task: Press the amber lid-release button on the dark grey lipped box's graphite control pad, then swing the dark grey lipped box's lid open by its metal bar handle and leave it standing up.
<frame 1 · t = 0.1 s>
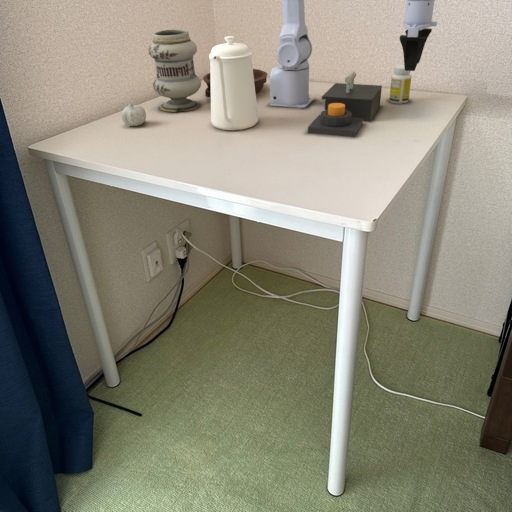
hand: (412, 66, 111), 10 cm above the table, tool pointing down, fingers open, 7 cm apart
dish: (236, 94, 137), on the table
dark grey lipped box: (352, 112, 117), on the table
apothecary jar: (180, 107, 127), on the table
coffeepot: (234, 125, 113), on the table
lid: (353, 83, 114), point 7 cm above the table, hinge at 0.0°
garlic: (135, 125, 116), on the table
supplement bottle: (398, 102, 124), on the table
start button: (336, 110, 105), point 4 cm above the table, slide at 0.1 cm
control pad: (335, 129, 107), on the table
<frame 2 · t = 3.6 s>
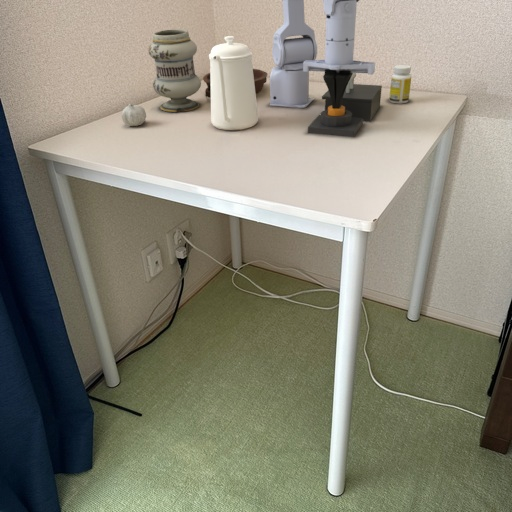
hand: (336, 107, 105), 5 cm above the table, tool pointing down, fingers closed, pressing on start button
start button: (336, 112, 105), point 4 cm above the table, slide at -0.3 cm, touching gripper
everything else where it was.
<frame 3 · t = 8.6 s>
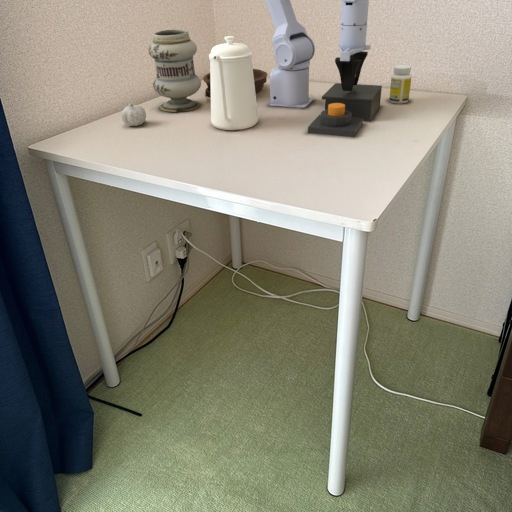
hand: (349, 87, 114), 6 cm above the table, tool pointing down, fingers closed on lid, 5 cm apart
lid: (353, 83, 114), point 7 cm above the table, hinge at 0.0°, touching gripper
start button: (336, 110, 105), point 4 cm above the table, slide at 0.1 cm
everything else where it was.
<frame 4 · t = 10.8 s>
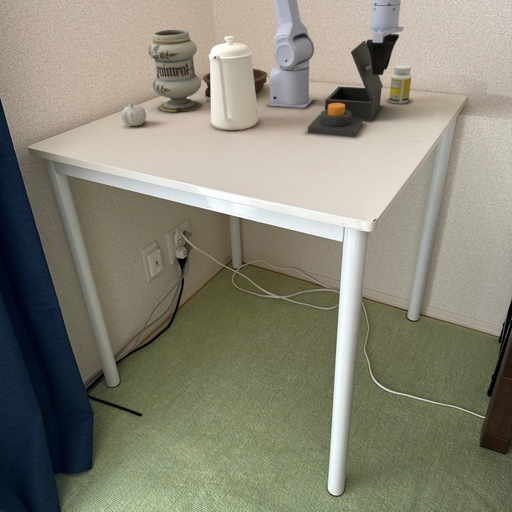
hand: (380, 71, 110), 10 cm above the table, tool pointing down, fingers closed on lid, 5 cm apart
lid: (375, 66, 110), point 11 cm above the table, hinge at 63.4°, touching gripper
everything else where it was.
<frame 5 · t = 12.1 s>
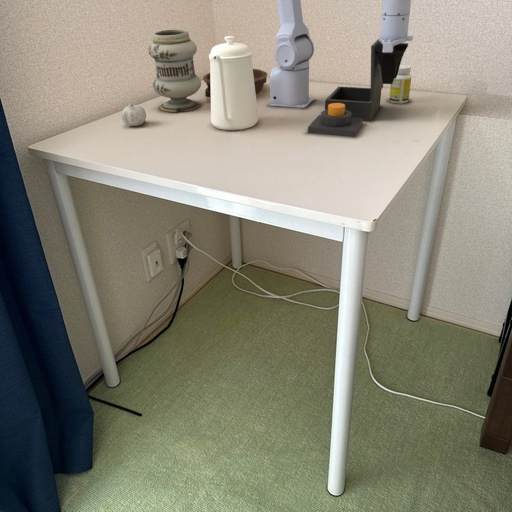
hand: (389, 80, 110), 8 cm above the table, tool pointing down, fingers closed on lid, 5 cm apart
lid: (386, 67, 109), point 11 cm above the table, hinge at 85.8°, touching gripper
everything else where it was.
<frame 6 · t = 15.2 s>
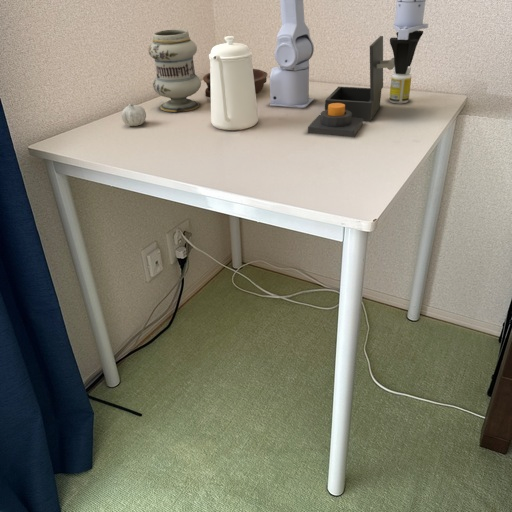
hand: (403, 69, 108), 10 cm above the table, tool pointing down, fingers open, 7 cm apart
lid: (385, 67, 109), point 11 cm above the table, hinge at 84.3°
everything else where it was.
at the end: start button pushed in 1.0 cm at the most during the clip, back to where it started at the end; start button slide at 0.1 cm; lid at +84° (first picture: +0°) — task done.
